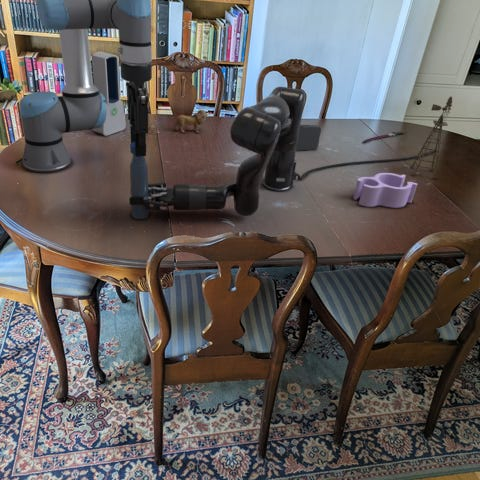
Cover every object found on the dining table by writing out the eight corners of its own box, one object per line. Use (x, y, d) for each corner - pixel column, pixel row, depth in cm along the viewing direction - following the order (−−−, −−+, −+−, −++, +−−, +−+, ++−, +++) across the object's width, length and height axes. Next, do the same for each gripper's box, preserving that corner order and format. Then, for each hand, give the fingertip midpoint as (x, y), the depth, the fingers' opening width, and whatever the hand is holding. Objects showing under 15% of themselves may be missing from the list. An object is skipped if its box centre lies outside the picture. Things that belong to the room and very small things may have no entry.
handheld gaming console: (315, 147, 196) (319, 124, 190) (317, 149, 194) (322, 126, 188) (264, 149, 189) (267, 125, 183) (266, 152, 187) (269, 127, 181)
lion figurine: (203, 128, 203) (204, 107, 198) (207, 132, 199) (208, 111, 194) (170, 129, 198) (170, 108, 193) (173, 133, 194) (173, 112, 189)
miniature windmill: (435, 179, 179) (462, 101, 163) (413, 175, 180) (438, 97, 164) (432, 170, 187) (457, 94, 170) (410, 166, 188) (434, 91, 171)
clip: (365, 210, 152) (371, 191, 148) (346, 193, 162) (351, 174, 158) (416, 205, 158) (422, 187, 155) (395, 189, 168) (400, 171, 164)
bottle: (141, 221, 134) (139, 152, 123) (128, 215, 136) (125, 147, 125) (152, 214, 138) (151, 147, 126) (139, 209, 140) (137, 142, 128)
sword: (401, 131, 224) (402, 128, 223) (406, 133, 222) (407, 131, 221) (358, 142, 208) (358, 140, 207) (363, 145, 206) (363, 142, 205)
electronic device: (104, 136, 184) (98, 57, 168) (90, 131, 187) (84, 53, 171) (126, 129, 193) (123, 53, 177) (113, 124, 196) (109, 49, 180)
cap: (146, 155, 125) (146, 147, 124) (130, 154, 124) (130, 147, 123) (146, 149, 128) (146, 141, 127) (130, 148, 128) (130, 141, 126)
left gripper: (113, 54, 119) (117, 141, 131) (128, 71, 106) (132, 166, 118) (142, 54, 122) (144, 139, 134) (160, 71, 109) (160, 163, 121)
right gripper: (189, 174, 140) (130, 173, 137) (191, 197, 128) (128, 196, 125) (188, 197, 144) (131, 196, 141) (190, 220, 132) (129, 220, 129)
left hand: (138, 152), depth 126 cm, fingers closed on cap, 4 cm apart
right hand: (130, 196), depth 133 cm, fingers closed on bottle, 5 cm apart
